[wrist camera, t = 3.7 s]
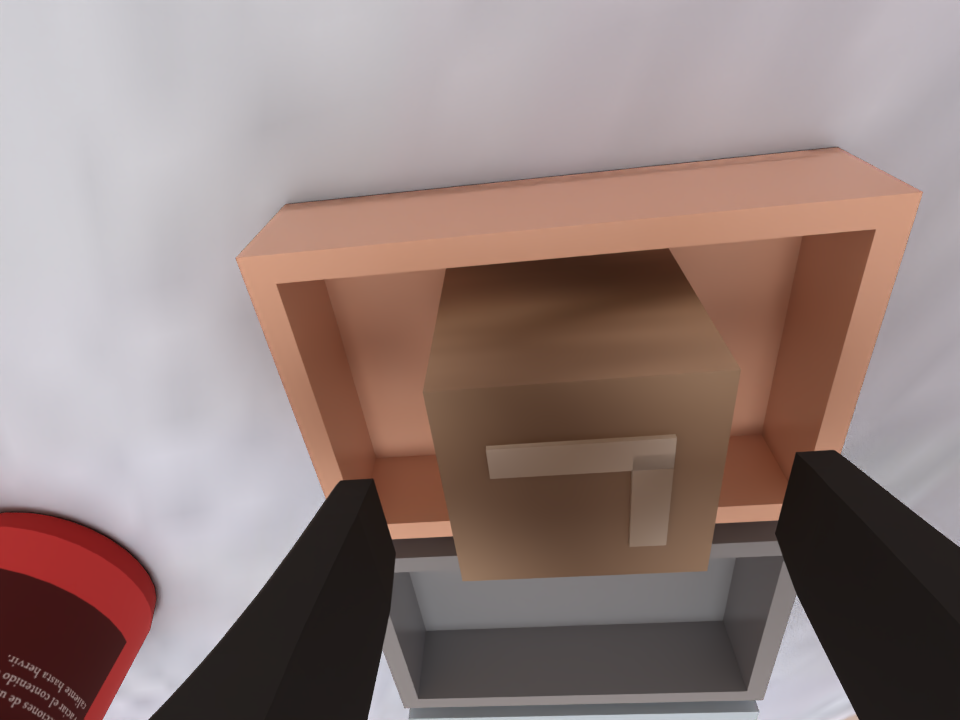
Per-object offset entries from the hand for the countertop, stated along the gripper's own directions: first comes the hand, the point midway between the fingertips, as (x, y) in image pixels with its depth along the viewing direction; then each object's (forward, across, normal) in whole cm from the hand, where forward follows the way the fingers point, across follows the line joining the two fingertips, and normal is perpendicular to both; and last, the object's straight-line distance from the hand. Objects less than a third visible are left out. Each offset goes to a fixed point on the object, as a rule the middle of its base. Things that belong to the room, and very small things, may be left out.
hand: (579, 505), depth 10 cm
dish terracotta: (+6, 0, 0) cm, 6 cm away
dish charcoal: (+6, 0, +9) cm, 11 cm away
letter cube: (+5, 0, 0) cm, 5 cm away
